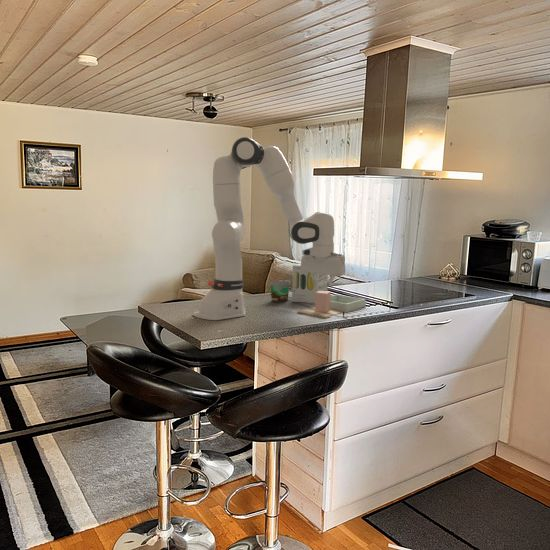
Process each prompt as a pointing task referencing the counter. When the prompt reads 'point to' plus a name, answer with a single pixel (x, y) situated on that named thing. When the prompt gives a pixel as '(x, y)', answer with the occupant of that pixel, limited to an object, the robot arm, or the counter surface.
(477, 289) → the counter surface
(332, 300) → the bin
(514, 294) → the counter surface
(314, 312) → the pad
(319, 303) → the block
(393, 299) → the counter surface
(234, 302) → the robot arm
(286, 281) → the food container
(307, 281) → the supplement box
